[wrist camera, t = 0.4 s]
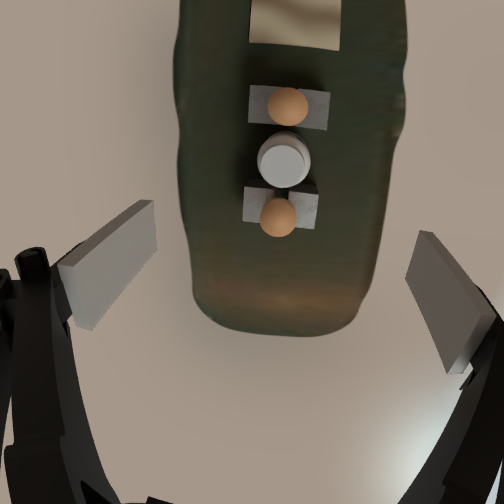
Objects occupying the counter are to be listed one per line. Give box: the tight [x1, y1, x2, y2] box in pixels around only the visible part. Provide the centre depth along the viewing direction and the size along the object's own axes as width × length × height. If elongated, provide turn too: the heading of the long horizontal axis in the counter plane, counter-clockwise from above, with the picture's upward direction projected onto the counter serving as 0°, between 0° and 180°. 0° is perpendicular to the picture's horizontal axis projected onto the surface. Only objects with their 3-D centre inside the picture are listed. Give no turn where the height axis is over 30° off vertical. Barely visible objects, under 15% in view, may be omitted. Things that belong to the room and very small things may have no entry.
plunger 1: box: [268, 87, 308, 126], centre depth 27 cm, size 4×4×5 cm
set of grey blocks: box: [243, 85, 330, 229], centre depth 32 cm, size 15×8×4 cm, turn 177°
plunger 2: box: [260, 198, 296, 237], centre depth 32 cm, size 4×4×5 cm
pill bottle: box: [257, 131, 310, 188], centre depth 30 cm, size 5×5×9 cm
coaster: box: [249, 0, 341, 51], centre depth 25 cm, size 10×10×1 cm
